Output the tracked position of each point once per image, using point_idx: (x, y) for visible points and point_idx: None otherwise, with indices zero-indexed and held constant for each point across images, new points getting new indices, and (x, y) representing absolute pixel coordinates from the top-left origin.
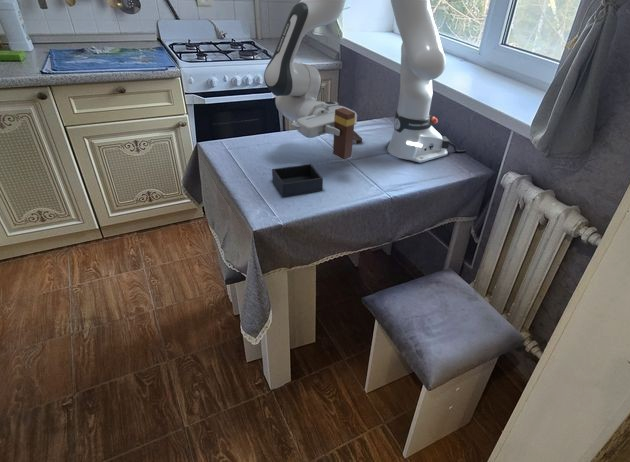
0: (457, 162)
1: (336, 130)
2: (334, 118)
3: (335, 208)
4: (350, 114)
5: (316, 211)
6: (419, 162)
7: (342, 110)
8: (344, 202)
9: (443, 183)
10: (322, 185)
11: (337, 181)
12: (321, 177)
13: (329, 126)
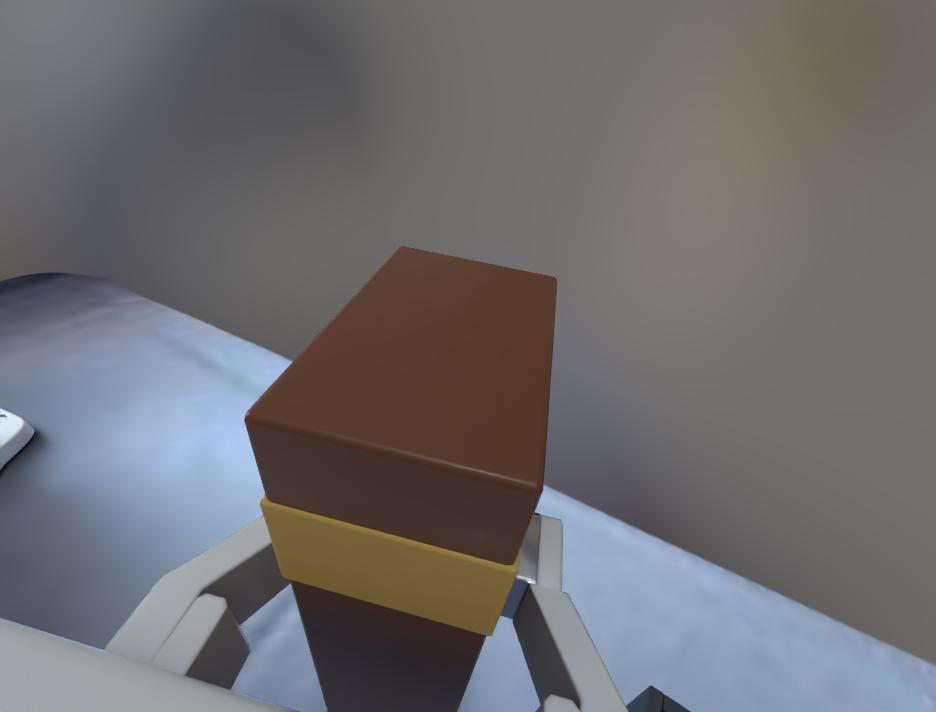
0: (6, 336)
1: (558, 556)
2: (500, 612)
3: (660, 546)
4: (491, 268)
5: (753, 600)
6: (33, 430)
7: (454, 359)
8: (597, 541)
9: (234, 340)
10: (631, 702)
11: (462, 703)
12: (652, 703)
13: (591, 698)
